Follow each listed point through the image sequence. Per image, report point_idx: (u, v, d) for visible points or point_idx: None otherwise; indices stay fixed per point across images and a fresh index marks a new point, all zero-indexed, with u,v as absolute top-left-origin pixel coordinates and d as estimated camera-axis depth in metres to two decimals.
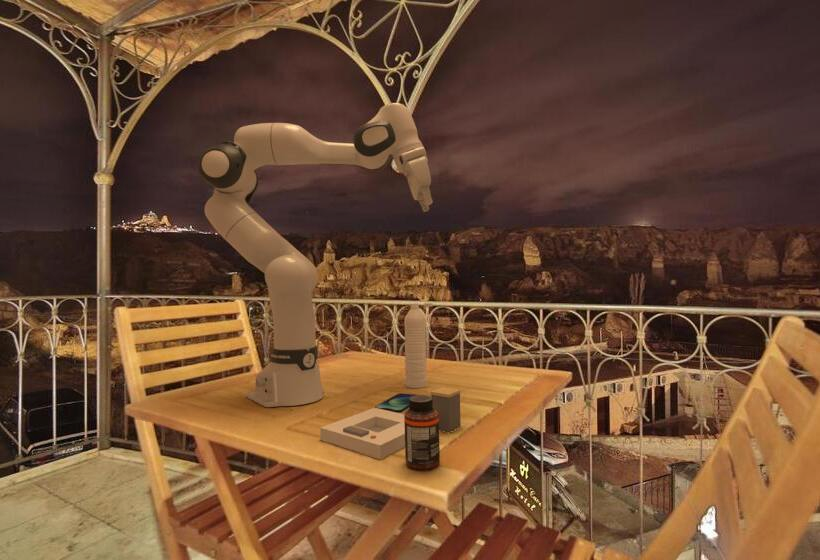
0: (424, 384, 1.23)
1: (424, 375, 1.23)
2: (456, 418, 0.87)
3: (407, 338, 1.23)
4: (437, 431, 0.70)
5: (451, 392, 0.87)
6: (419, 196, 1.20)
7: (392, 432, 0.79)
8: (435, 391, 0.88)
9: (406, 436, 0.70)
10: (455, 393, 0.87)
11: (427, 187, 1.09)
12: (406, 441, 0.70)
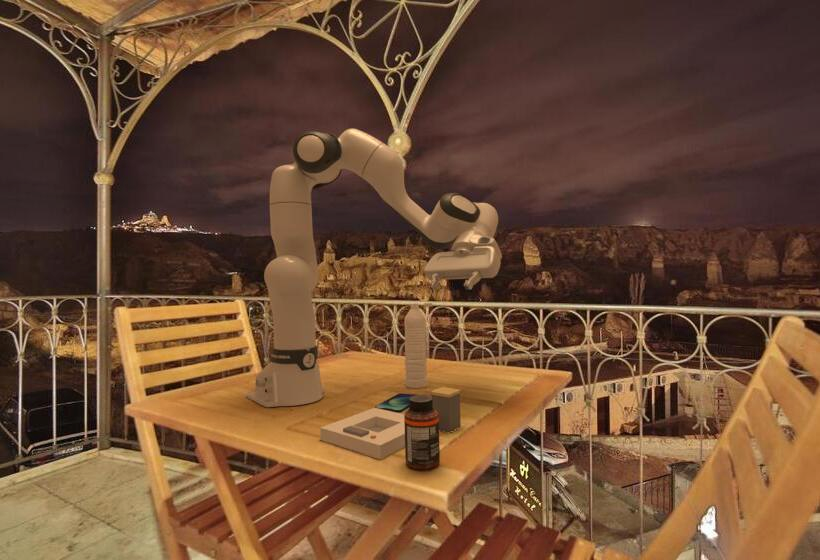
0: (424, 384, 1.23)
1: (424, 375, 1.23)
2: (456, 418, 0.87)
3: (407, 338, 1.23)
4: (437, 431, 0.70)
5: (451, 392, 0.87)
6: (439, 273, 1.07)
7: (392, 432, 0.79)
8: (435, 391, 0.88)
9: (406, 436, 0.70)
10: (455, 393, 0.87)
11: (480, 277, 1.01)
12: (406, 441, 0.70)
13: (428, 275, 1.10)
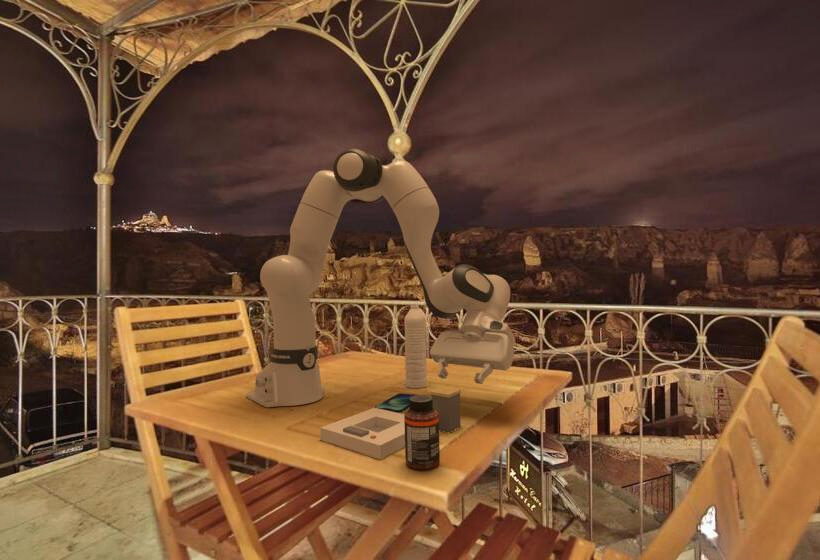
0: (424, 384, 1.23)
1: (424, 375, 1.23)
2: (456, 418, 0.87)
3: (407, 338, 1.23)
4: (437, 431, 0.70)
5: (451, 392, 0.87)
6: (446, 358, 0.98)
7: (392, 432, 0.79)
8: (435, 391, 0.88)
9: (406, 436, 0.70)
10: (455, 393, 0.87)
11: (492, 369, 0.92)
12: (406, 441, 0.70)
13: (434, 358, 1.01)
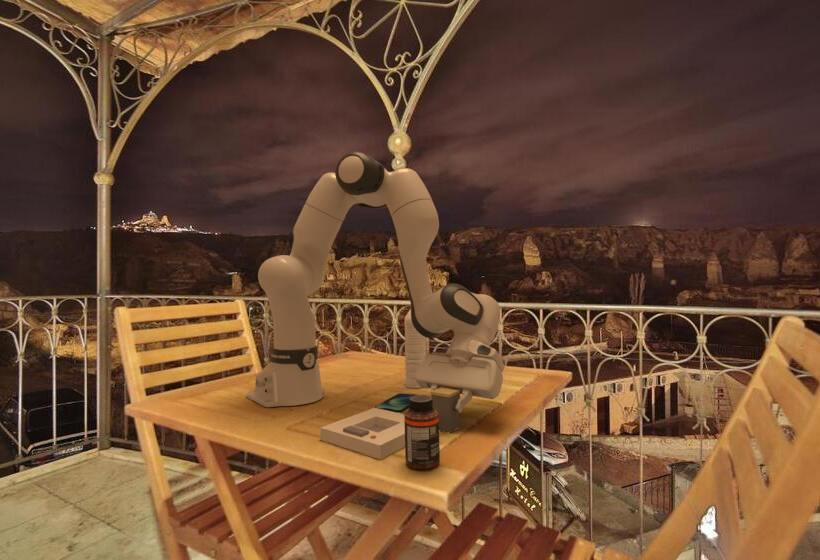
0: None
1: None
2: (456, 418, 0.87)
3: (407, 338, 1.23)
4: (437, 431, 0.70)
5: (451, 392, 0.87)
6: (438, 385, 0.92)
7: (392, 432, 0.79)
8: (435, 391, 0.88)
9: (406, 436, 0.70)
10: (455, 393, 0.87)
11: (471, 396, 0.88)
12: (406, 441, 0.70)
13: (419, 383, 0.96)
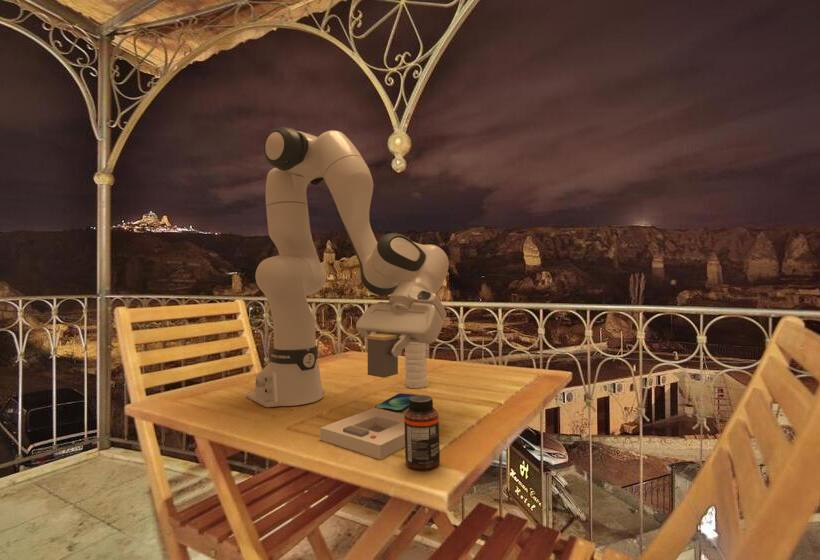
0: (424, 384, 1.23)
1: (424, 375, 1.23)
2: (392, 363, 0.84)
3: None
4: (437, 431, 0.70)
5: (387, 336, 0.84)
6: (378, 332, 0.89)
7: (392, 432, 0.79)
8: (371, 335, 0.85)
9: (406, 436, 0.70)
10: (392, 337, 0.84)
11: (409, 341, 0.84)
12: (406, 441, 0.70)
13: (360, 332, 0.92)
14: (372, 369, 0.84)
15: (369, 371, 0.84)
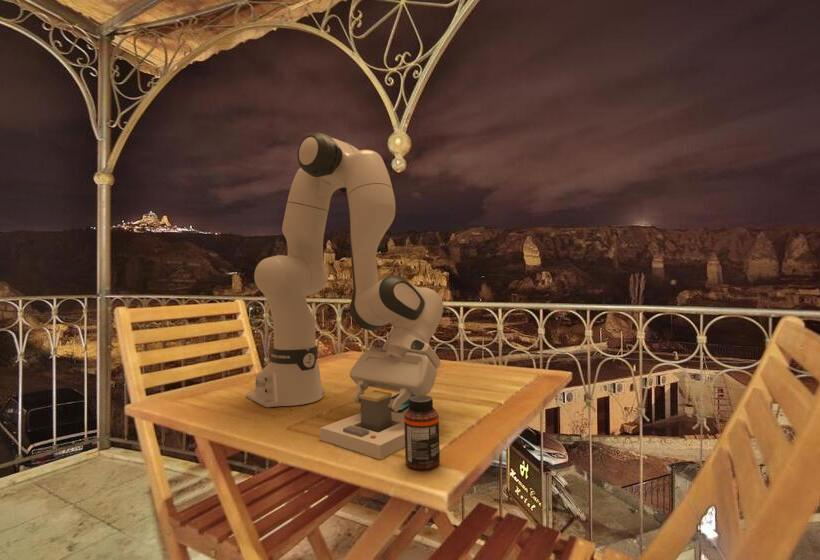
0: None
1: None
2: (386, 423, 0.83)
3: None
4: (437, 431, 0.70)
5: (380, 396, 0.83)
6: (365, 381, 0.89)
7: (392, 432, 0.79)
8: (364, 395, 0.84)
9: (406, 436, 0.70)
10: (385, 397, 0.83)
11: (409, 394, 0.82)
12: (406, 441, 0.70)
13: (354, 380, 0.92)
14: None
15: None
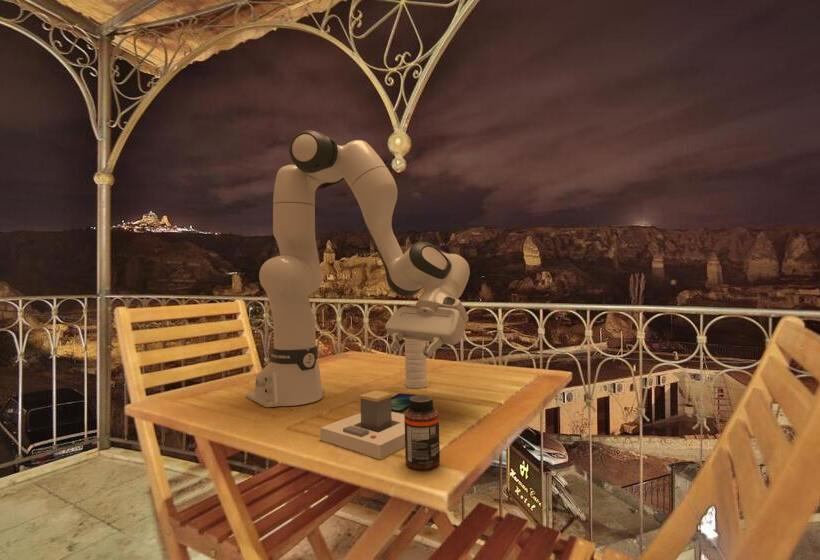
0: (424, 384, 1.23)
1: (424, 375, 1.23)
2: (386, 423, 0.83)
3: None
4: (437, 431, 0.70)
5: (380, 396, 0.83)
6: (400, 332, 0.99)
7: (392, 432, 0.79)
8: (364, 395, 0.84)
9: (406, 436, 0.70)
10: (385, 397, 0.83)
11: (441, 342, 0.93)
12: (406, 441, 0.70)
13: (389, 332, 1.02)
14: None
15: None
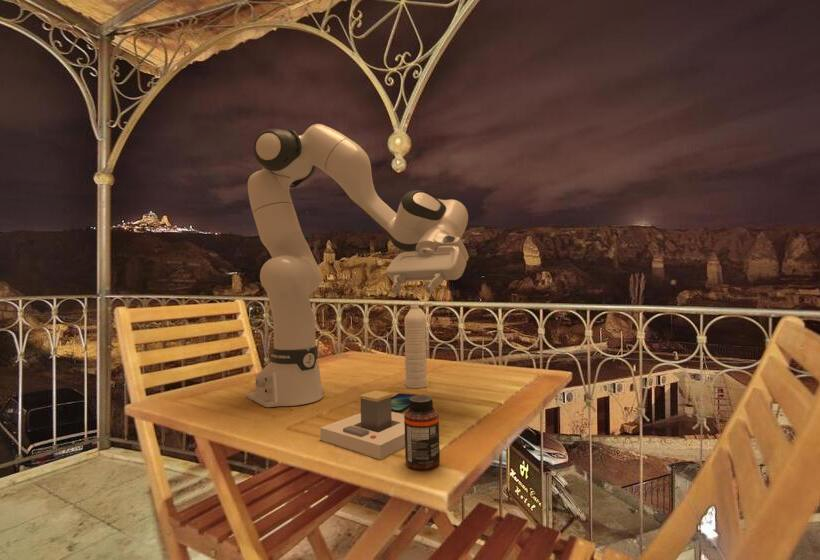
0: (424, 384, 1.23)
1: (424, 375, 1.23)
2: (386, 423, 0.83)
3: (407, 338, 1.23)
4: (437, 431, 0.70)
5: (380, 396, 0.83)
6: (401, 275, 1.00)
7: (392, 432, 0.79)
8: (364, 395, 0.84)
9: (406, 436, 0.70)
10: (385, 397, 0.83)
11: (443, 279, 0.93)
12: (406, 441, 0.70)
13: (390, 276, 1.02)
14: None
15: None
